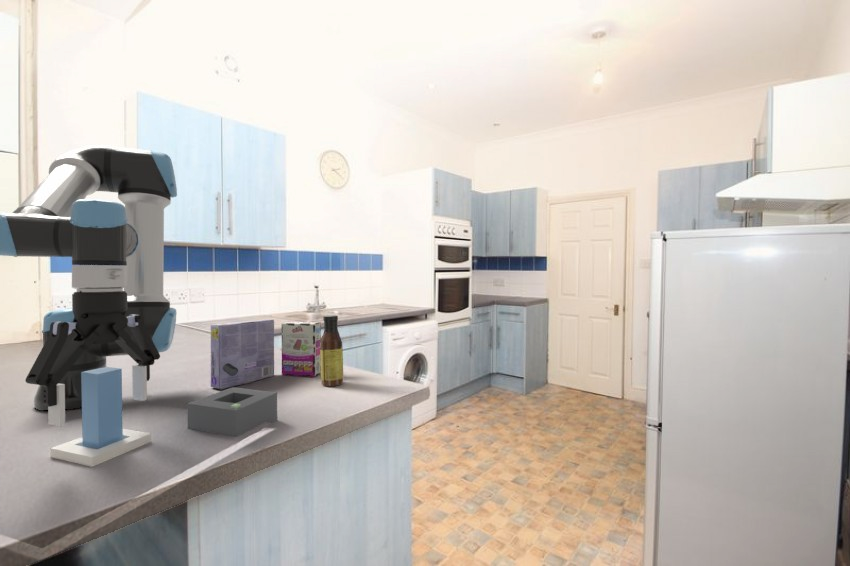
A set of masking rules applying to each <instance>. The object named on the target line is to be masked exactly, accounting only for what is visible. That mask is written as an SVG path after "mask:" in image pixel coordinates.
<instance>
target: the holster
mask: <svg viewBox="0 0 850 566" xmlns="http://www.w3.org/2000/svg"><path fill="white" fill-rule="evenodd" d="M151 442H152V433H149V432H145V431H138V430H134V429H130V428H129V429H127V428H123V440H120V441H118V442H115V443H112V444H110V445H107V446H105V447H102V448H100V449H92V448H87V447H83V440H82V437H78V438H75V439H73V440H70V441H67V442H64V443H60V444H58V445H56V446H53V447H51V448H50V458H52V459H56V460H61V461H66V462H70V463H75V464H78V465H79V464H80V465H82V466H88V467H95V466H97V465H101V464H103V463H105V462H106V461H109V460H111V459H113V458H117V457H119V456H121V455H123V454H125V453H128V452H130V451H132V450H135V449H138V448H140V447H141V446H144V445H147V444H149V443H151Z"/></svg>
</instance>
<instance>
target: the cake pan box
mask: <svg viewBox="0 0 850 566" xmlns="http://www.w3.org/2000/svg"><path fill="white" fill-rule="evenodd" d="M274 376H275V320H274V319H260V320H259V319H257V320H247V321H238V322H237V321H235V322H228V323H227V322H226V323H219V324H218V323H216V324H215V323H214V324H210V387H211V388H213V389H217V390H219V391H223V390H226V389H229V388H232V387H237V386H240V385H245V384H249V383H253V382H256V381H259V380H264V379H266V378H271V377H274Z"/></svg>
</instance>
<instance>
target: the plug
mask: <svg viewBox="0 0 850 566" xmlns="http://www.w3.org/2000/svg"><path fill="white" fill-rule="evenodd" d="M122 369H123V368H119V367H118V368H117V367H110V366H109V367H108V366H107V367H103V368H98V369H93V370H89V371H84V372H81V384H82V407H81V426H82V428H81V429H82V431H81V433H82V435H81V436H82V440H83V447H87V448H92V449H100V448H102V447H105V446H107V445H110V444H112V443H115V442H118V441H120V440H123V429H124V428H123V377H122V376H123V373H122V372H123V371H122Z"/></svg>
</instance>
